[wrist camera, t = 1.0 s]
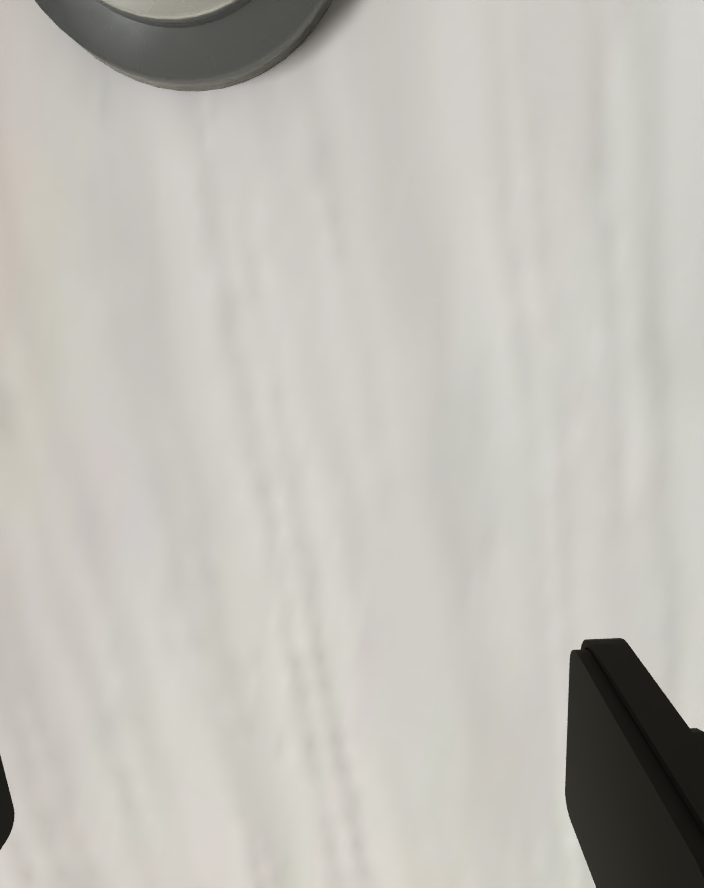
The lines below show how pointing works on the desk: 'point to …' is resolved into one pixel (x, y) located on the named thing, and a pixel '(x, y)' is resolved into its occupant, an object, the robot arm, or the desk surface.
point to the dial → (174, 11)
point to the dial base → (190, 41)
